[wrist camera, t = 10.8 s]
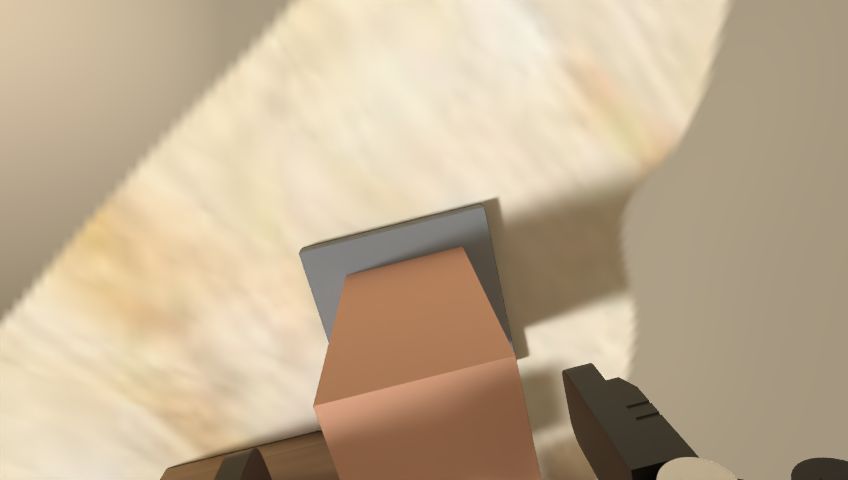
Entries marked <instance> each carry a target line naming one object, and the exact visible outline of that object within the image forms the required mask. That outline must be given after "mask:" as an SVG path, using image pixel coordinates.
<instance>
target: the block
mask: <svg viewBox="0 0 848 480" xmlns="http://www.w3.org/2000/svg"><path fill="white" fill-rule="evenodd" d="M313 407H314V410H315V413H316V415H317V418H318V421H319V424H320V426H321V429H322V432H323V435H324V437H325V440H326V443H327V446H328V448H329V451H330V454H331V457H332V459H333V462H334V465H335V468H336V470H337V473H338V476H339V479H340V480H541V476H540V471H539V466H538V462H537V457H536V452H535V447H534V442H533V438H532V433H531V428H530V423H529V419H528V414H527V409H526V404H525V399H524V395H523V390H522V385H521V380H520V375H519V371H518V366H517V361H516V356H515V354H514V352H513V350H512V348H511V346H510V344H509V342H508V339H507V337H506V335H505V333H504V331H503V329H502V327H501V325H500V323H499V321H498V319H497V317H496V315H495V313H494V311H493V308H492V306H491V304H490V302H489V300H488V298H487V296H486V294H485V292H484V290H483V288H482V286H481V284H480V282H479V280H478V277H477V275H476V273H475V271H474V269H473V267H472V265H471V263H470V261H469V259H468V257H467V255H466V253H465V251H464V249H463V247H458V248H454V249H450V250H446V251H442V252H438V253H434V254H430V255H426V256H422V257H418V258H414V259H410V260H406V261H402V262H398V263H394V264H390V265H386V266H382V267H378V268H374V269H370V270H366V271H362V272H358V273H354V274H350V275H346V277H345V281H344V285H343V289H342V293H341V297H340V301H339V305H338V309H337V313H336V317H335V321H334V325H333V329H332V333H331V337H330V341H329V345H328V349H327V353H326V357H325V361H324V365H323V369H322V373H321V377H320V381H319V385H318V389H317V393H316V397H315V401H314V405H313Z"/></svg>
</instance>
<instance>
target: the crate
mask: <svg viewBox="0 0 848 480" xmlns="http://www.w3.org/2000/svg"><path fill="white" fill-rule="evenodd" d="M255 448H256V449H258V450H259V451H260V452H261V454H262V456H263V459H264V461H265V464H266V466H267V468H268V471H269V473H270V476H271V478H272V480H340V479H339V476H338V473H337V470H336V468H335V465H334V462H333V459H332V457H331V454H330V451H329V448H328V446H327V443H326V440H325V437H324V435H323V432H322V431H318V432H314V433H310V434H306V435H302V436H298V437H294V438H290V439H285V440H281V441H277V442H273V443H269V444H265V445H261V446H257V447H253V448H249V449H245V450H241V451H237V452H233V453H229V454H225V455H221V456H217V457H213V458H209V459H205V460H201V461H197V462H193V463H189V464H185V465H181V466H177V467H173V468H169V469H166V471H165V472H164V474H163V476H162V477H161V479H160V480H214V478H215V476H216V474H217V472H218V470H219V468H220V465H221V463H222V461H223V459H224V458H225V457H226V456H228V455H231V454H235V453H239V452H243V451H247V450H251V449H255Z"/></svg>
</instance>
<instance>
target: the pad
mask: <svg viewBox="0 0 848 480" xmlns="http://www.w3.org/2000/svg"><path fill="white" fill-rule="evenodd" d="M458 247H463V249H464V251H465V253H466V255H467V257H468V259H469V261H470V263H471V265H472V267H473V269H474V271H475V273H476V275H477V277H478V280H479V282H480V284H481V286H482V288H483V290H484V292H485V294H486V296H487V298H488V300H489V302H490V304H491V306H492V308H493V311H494V313H495V315H496V317H497V319H498V321H499V323H500V325H501V327H502V329H503V331H504V333H505V335H506V337H507V339H508V342H509V344H510V346H511V348H512V350H513V352H514V349H513V344H512V340H511V335H510V330H509V325H508V320H507V316H506V311H505V306H504V301H503V296H502V291H501V287H500V282H499V277H498V272H497V267H496V263H495V258H494V253H493V248H492V243H491V238H490V234H489V229H488V224H487V219H486V214H485V210H484V206H483V205H482V204H477V205H473V206H469V207H465V208H461V209H457V210H453V211H449V212H445V213H441V214H437V215H433V216H429V217H425V218H421V219H417V220H413V221H409V222H405V223H401V224H397V225H393V226H389V227H385V228H381V229H377V230H373V231H369V232H365V233H361V234H357V235H353V236H349V237H345V238H341V239H337V240H333V241H329V242H325V243H321V244H317V245H313V246H309V247H305V248H302V249H301V250H300V252H299V255H300V258H301V261H302V264H303V267H304V270H305V273H306V276H307V279H308V282H309V285H310V288H311V291H312V294H313V297H314V300H315V303H316V306H317V309H318V312H319V315H320V318H321V321H322V324H323V327H324V330H325V333H326V336H327V339H328V342H329V341H330V337H331V333H332V329H333V325H334V321H335V317H336V313H337V309H338V305H339V301H340V297H341V293H342V289H343V285H344V281H345V277H346V275H350V274H354V273H358V272H362V271H366V270H370V269H374V268H378V267H382V266H386V265H390V264H394V263H398V262H402V261H406V260H410V259H414V258H418V257H422V256H426V255H430V254H434V253H438V252H442V251H446V250H450V249H454V248H458Z"/></svg>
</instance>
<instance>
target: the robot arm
mask: <svg viewBox="0 0 848 480" xmlns="http://www.w3.org/2000/svg"><path fill="white" fill-rule="evenodd" d="M562 376H563V382H564V387H565V393H566V398H567V403H568V409H569V414H570V419H571V424H572V427H573V430H574V433H575V436H576V439H577V441H578V443H579V445H580V447H581V449H582V451H583V453H584V455H585V456H586V458H587V460H588V462H589V463H590V465H591V467H592V469H593V471H594V472H595V474H596V476H597V478H598V480H741V479H737V478H736V477H735V476H734V475H733V474H732V473H731V472H730V471H729V470H727V469H726V468H724V467H723V466H721V465H719V464H717V463H715V462H712V461H710V460H706V459H703V458H699V457H698V456H697V455H696V454H695V453H694V451H693V450H692V449H691V448H690V447H689V446H688V444H687V443H686V442H685V441H684V440H683V439H682V438H681V437H680V435H679V434H678V433H677V432H676V431H675V430H674V429H673V427H672V426H671V425H670V424H669V423H668V422H667V421H666V419H665V418H664V417H663V416H662V415H660V414H659V411H658V410H657V409H656V408H655V407H654V406H653V405H652V403H650V402H649V400H648V399H647V398H646V397H645V395H644V394H643V393H642V392H641V391H640V390H639V389H638V388H637V387H636V386H634V385H632V384H630V383H629V382H627V381H625V380H623V379H621V378H619V377H618V378H614V379H610V380H605V379H604V378H603V376H602V375H601V374H600V373H599V371H598V370H597V369H596V367H595V366H594V365H593V364H592V363H589V364H585V365H581V366H577V367H573V368H570V369H566V370H563V371H562ZM214 480H272V478H271V476H270V473H269V471H268V468H267V466H266V464H265V461H264V459H263V456H262V454H261V452H260V451H259V450H258V449H256V448H255V449H251V450H247V451H243V452H239V453H235V454H231V455H228V456H226V457H225V458H224V459H223V461H222V463H221V465H220V468H219V470H218V472H217V474H216V476H215V478H214ZM791 480H848V462H847V461H844V460H839V459H834V458H812V459H808V460H805V461H802V462H800V463H799V464H797V465H796V466H795V467H794V469H793V470H792V474H791Z"/></svg>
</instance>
